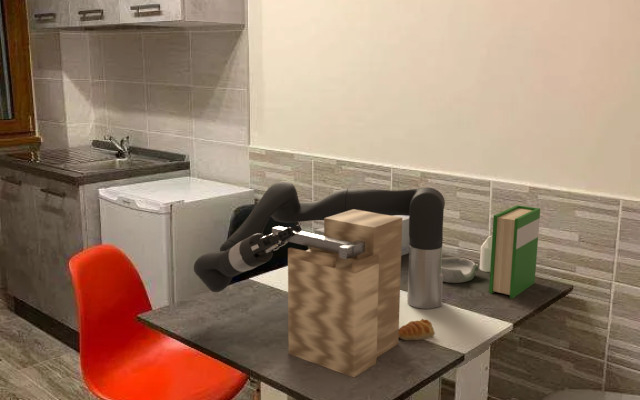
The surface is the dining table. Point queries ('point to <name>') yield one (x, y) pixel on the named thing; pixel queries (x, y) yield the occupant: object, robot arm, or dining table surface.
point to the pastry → (416, 330)
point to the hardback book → (514, 250)
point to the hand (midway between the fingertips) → (295, 230)
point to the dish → (458, 270)
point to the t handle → (325, 243)
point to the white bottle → (486, 255)
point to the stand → (347, 294)
